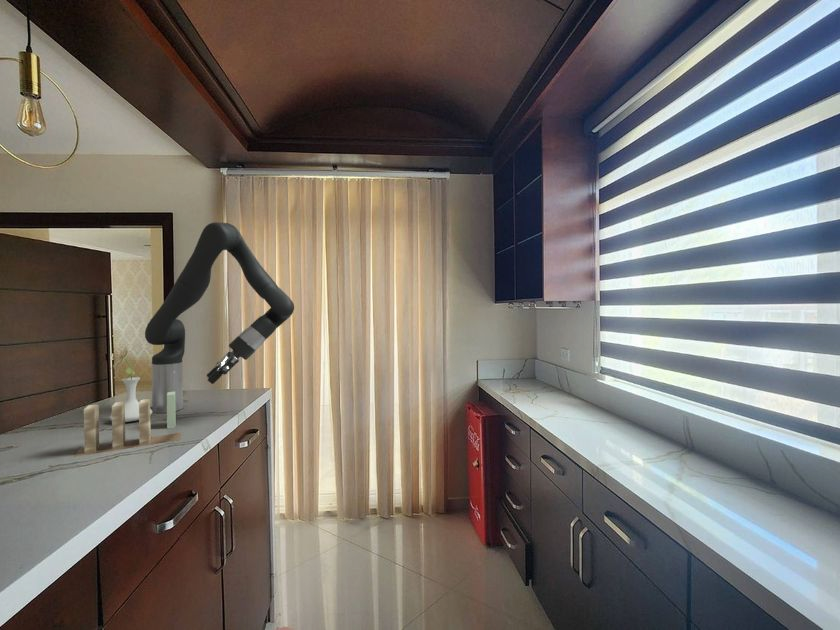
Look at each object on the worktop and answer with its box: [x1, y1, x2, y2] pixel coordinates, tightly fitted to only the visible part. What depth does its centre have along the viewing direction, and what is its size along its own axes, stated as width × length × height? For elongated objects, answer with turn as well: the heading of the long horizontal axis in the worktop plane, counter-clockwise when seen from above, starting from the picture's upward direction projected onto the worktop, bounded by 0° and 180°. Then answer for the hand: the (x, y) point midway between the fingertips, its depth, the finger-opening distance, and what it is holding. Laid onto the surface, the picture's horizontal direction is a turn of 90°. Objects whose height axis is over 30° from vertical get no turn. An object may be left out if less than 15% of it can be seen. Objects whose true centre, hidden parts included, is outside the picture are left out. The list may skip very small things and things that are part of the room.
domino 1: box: [111, 401, 126, 449], centre depth 98 cm, size 2×5×11 cm, turn 32°
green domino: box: [166, 391, 177, 429], centre depth 115 cm, size 2×5×11 cm, turn 32°
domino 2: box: [138, 398, 152, 445], centre depth 101 cm, size 2×5×11 cm, turn 32°
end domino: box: [83, 403, 100, 454], centre depth 95 cm, size 2×5×11 cm, turn 31°
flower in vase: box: [109, 345, 154, 423], centre depth 123 cm, size 13×11×25 cm
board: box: [73, 432, 182, 458], centre depth 100 cm, size 22×7×1 cm, turn 122°
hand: (209, 379), depth 120 cm, fingers open, 8 cm apart
